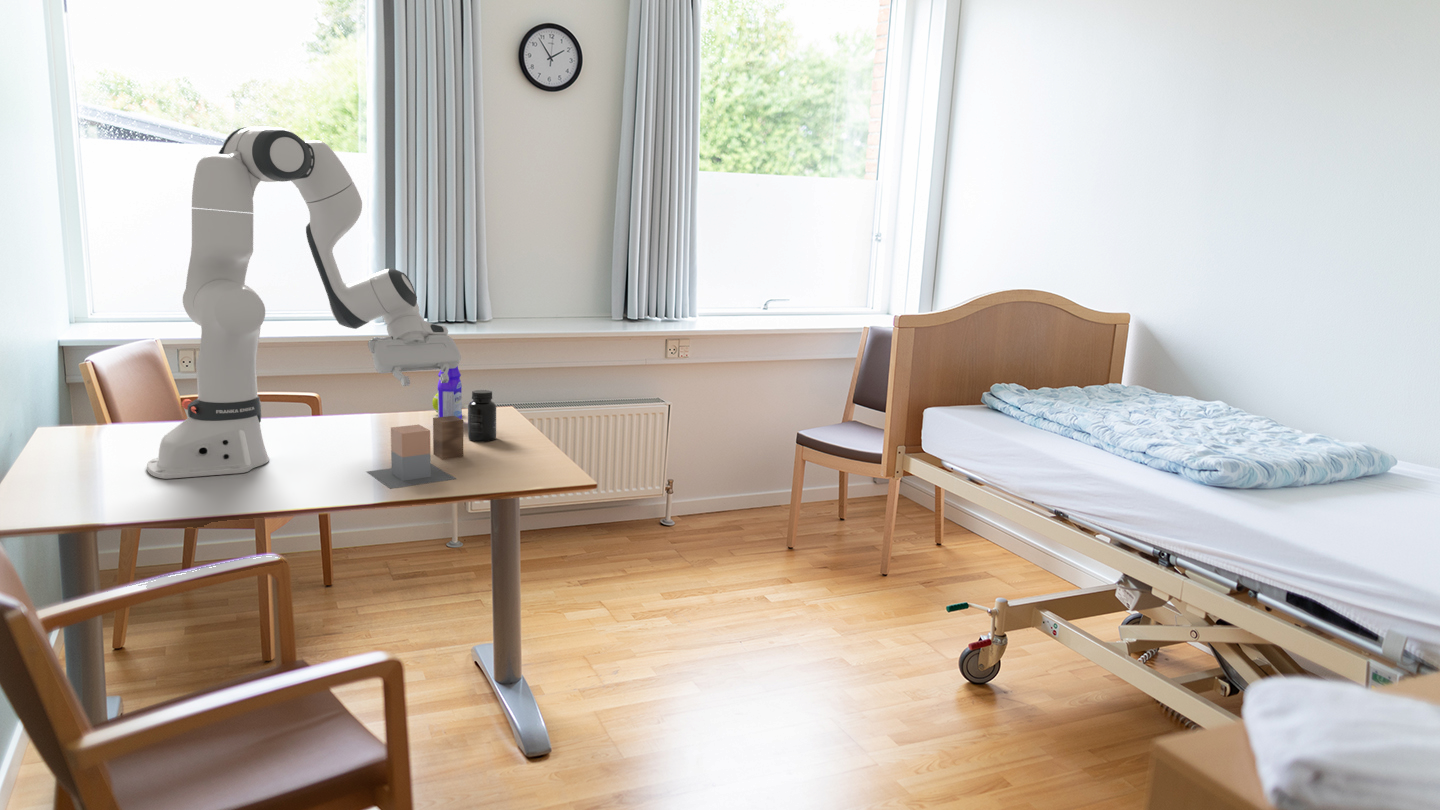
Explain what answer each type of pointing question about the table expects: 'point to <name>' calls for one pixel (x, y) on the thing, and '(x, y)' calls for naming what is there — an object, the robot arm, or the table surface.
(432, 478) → the rubber mat
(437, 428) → the walnut post
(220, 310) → the robot arm
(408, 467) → the tower bottom
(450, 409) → the bottle
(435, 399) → the tennis ball
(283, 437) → the table surface
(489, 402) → the supplement bottle
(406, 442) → the tower top
